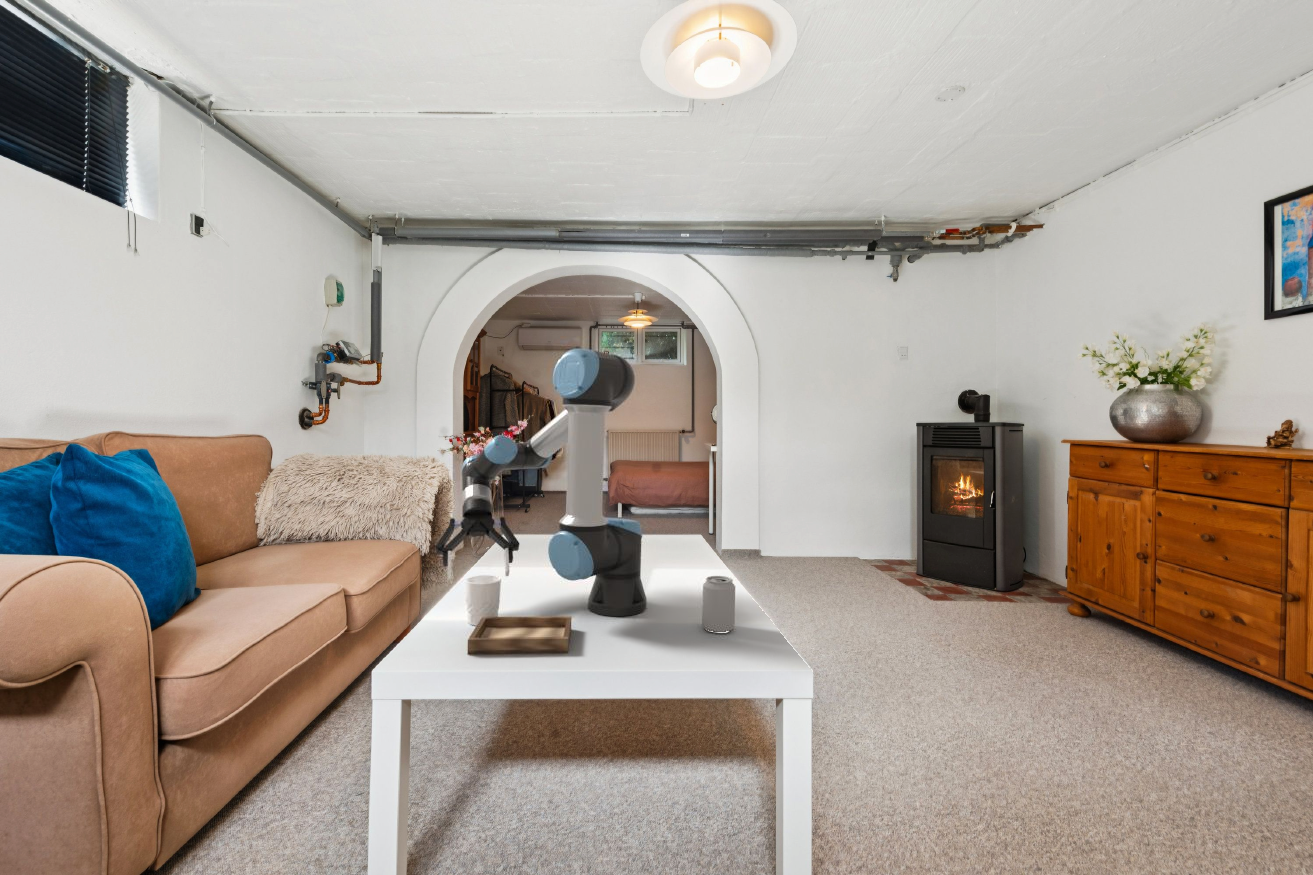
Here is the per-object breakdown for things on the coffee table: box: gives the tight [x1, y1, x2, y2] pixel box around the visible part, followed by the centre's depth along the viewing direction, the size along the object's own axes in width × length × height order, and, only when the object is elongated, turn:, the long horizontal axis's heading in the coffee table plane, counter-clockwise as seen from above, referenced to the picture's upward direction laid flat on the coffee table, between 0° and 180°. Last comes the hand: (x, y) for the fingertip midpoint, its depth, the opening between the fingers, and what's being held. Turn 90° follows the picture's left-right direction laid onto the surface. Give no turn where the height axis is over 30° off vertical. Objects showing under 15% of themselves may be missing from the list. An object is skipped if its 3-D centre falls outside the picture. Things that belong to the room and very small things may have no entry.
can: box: [701, 575, 736, 632], centre depth 133 cm, size 8×8×12 cm
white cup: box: [465, 574, 502, 627], centre depth 135 cm, size 8×8×10 cm
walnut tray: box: [467, 615, 573, 655], centre depth 123 cm, size 20×14×3 cm
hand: (478, 575), depth 139 cm, fingers open, 13 cm apart
